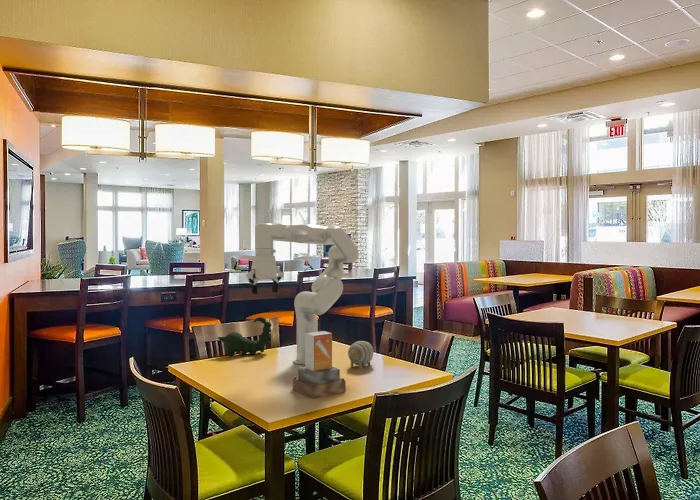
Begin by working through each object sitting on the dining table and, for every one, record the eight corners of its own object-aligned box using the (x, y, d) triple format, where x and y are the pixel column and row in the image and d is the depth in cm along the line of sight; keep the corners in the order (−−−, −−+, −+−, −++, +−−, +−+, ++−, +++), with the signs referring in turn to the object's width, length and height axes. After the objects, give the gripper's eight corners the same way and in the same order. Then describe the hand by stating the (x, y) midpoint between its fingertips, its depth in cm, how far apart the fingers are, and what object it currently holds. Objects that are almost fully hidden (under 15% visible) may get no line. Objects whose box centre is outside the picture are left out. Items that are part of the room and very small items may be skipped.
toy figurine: (267, 354, 255) (215, 353, 248) (270, 316, 255) (218, 314, 248) (270, 358, 246) (216, 357, 239) (273, 318, 246) (219, 316, 239)
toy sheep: (341, 369, 218) (341, 343, 217) (358, 360, 233) (358, 336, 232) (364, 372, 213) (363, 345, 213) (380, 363, 228) (380, 338, 228)
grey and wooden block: (324, 382, 198) (324, 362, 197) (345, 391, 186) (345, 369, 186) (292, 389, 189) (292, 367, 189) (313, 398, 178) (312, 375, 178)
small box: (313, 371, 183) (313, 335, 183) (304, 368, 188) (304, 332, 188) (332, 368, 188) (332, 332, 188) (323, 364, 193) (323, 330, 193)
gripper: (277, 252, 225) (277, 290, 225) (241, 253, 214) (242, 294, 214) (286, 252, 219) (287, 292, 220) (250, 253, 208) (251, 295, 208)
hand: (264, 293), depth 217 cm, fingers open, 9 cm apart
